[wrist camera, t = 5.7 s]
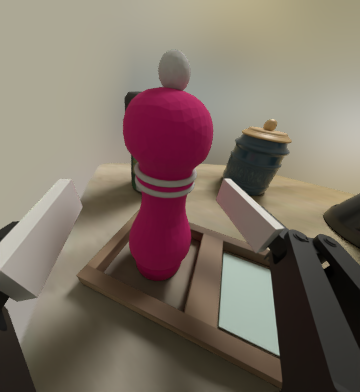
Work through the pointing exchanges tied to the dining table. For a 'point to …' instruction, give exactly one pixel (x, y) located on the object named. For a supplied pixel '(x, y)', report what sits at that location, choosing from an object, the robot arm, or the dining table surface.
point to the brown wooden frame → (188, 299)
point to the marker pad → (248, 303)
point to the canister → (257, 158)
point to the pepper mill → (165, 165)
